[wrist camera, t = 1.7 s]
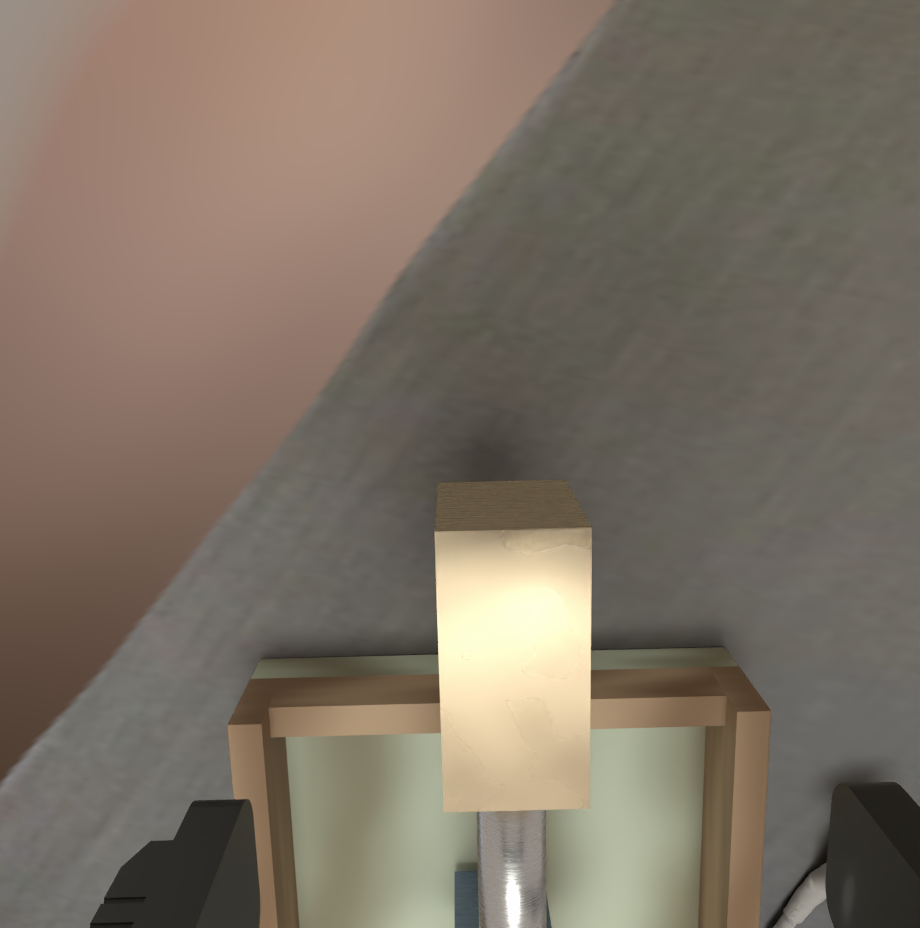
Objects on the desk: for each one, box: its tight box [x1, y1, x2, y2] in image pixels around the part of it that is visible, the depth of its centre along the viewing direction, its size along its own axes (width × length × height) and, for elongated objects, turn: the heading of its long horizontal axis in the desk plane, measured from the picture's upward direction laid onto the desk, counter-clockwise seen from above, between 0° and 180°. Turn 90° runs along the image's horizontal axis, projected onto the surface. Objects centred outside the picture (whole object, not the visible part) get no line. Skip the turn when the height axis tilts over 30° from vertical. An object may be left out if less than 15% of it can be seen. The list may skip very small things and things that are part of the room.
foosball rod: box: [435, 479, 592, 928], centre depth 23 cm, size 3×17×12 cm, turn 1°
